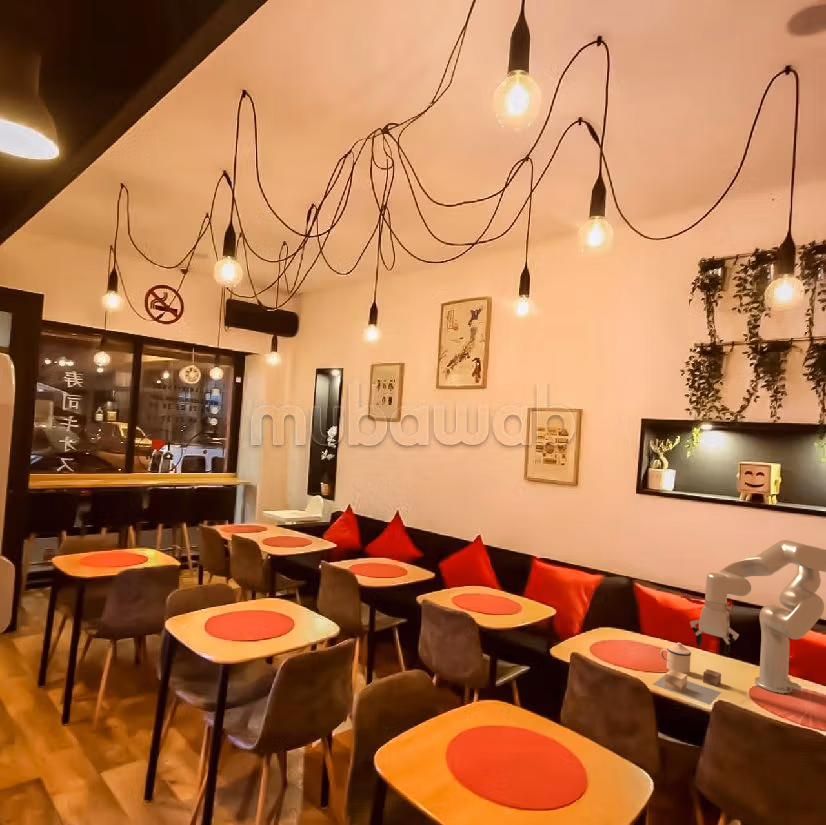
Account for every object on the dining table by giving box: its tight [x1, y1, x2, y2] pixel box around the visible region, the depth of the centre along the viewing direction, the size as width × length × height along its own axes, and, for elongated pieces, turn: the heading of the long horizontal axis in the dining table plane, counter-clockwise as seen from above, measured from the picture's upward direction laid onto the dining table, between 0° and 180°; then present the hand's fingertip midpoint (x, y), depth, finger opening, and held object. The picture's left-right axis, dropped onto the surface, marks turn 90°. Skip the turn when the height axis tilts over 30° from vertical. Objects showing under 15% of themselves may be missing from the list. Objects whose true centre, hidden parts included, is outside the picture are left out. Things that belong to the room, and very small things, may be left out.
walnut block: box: [702, 668, 722, 688], centre depth 221 cm, size 5×5×5 cm
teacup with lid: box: [659, 642, 692, 675], centre depth 233 cm, size 12×9×12 cm
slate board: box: [652, 674, 722, 705], centre depth 214 cm, size 20×15×1 cm
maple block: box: [664, 670, 688, 693], centre depth 214 cm, size 6×6×5 cm
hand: (712, 649), depth 221 cm, fingers open, 9 cm apart
